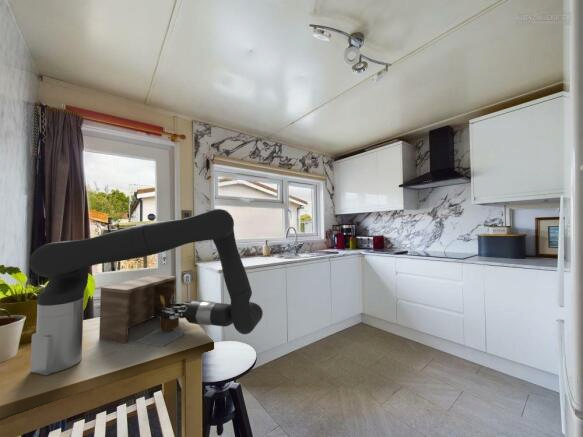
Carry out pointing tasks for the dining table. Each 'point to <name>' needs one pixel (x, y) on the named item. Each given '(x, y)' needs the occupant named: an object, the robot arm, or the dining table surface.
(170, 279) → the open box
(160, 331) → the grey mat
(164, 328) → the utensil holder
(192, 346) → the dining table surface
